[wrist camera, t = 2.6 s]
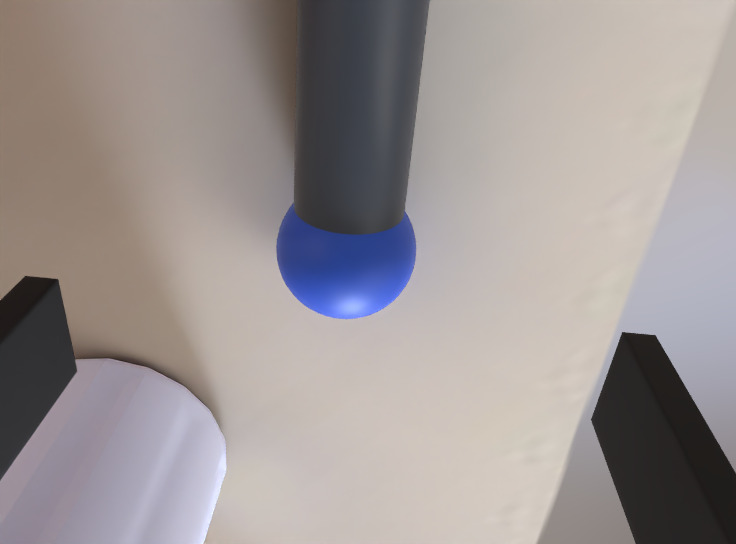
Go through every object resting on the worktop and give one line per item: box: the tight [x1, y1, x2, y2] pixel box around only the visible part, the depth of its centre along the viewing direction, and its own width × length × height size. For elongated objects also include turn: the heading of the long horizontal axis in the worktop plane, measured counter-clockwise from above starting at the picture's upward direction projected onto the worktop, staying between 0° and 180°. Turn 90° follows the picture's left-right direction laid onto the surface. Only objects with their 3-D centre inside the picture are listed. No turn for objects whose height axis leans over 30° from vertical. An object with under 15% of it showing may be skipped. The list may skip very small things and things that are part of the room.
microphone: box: [276, 0, 429, 319], centre depth 16 cm, size 15×4×4 cm, turn 176°
